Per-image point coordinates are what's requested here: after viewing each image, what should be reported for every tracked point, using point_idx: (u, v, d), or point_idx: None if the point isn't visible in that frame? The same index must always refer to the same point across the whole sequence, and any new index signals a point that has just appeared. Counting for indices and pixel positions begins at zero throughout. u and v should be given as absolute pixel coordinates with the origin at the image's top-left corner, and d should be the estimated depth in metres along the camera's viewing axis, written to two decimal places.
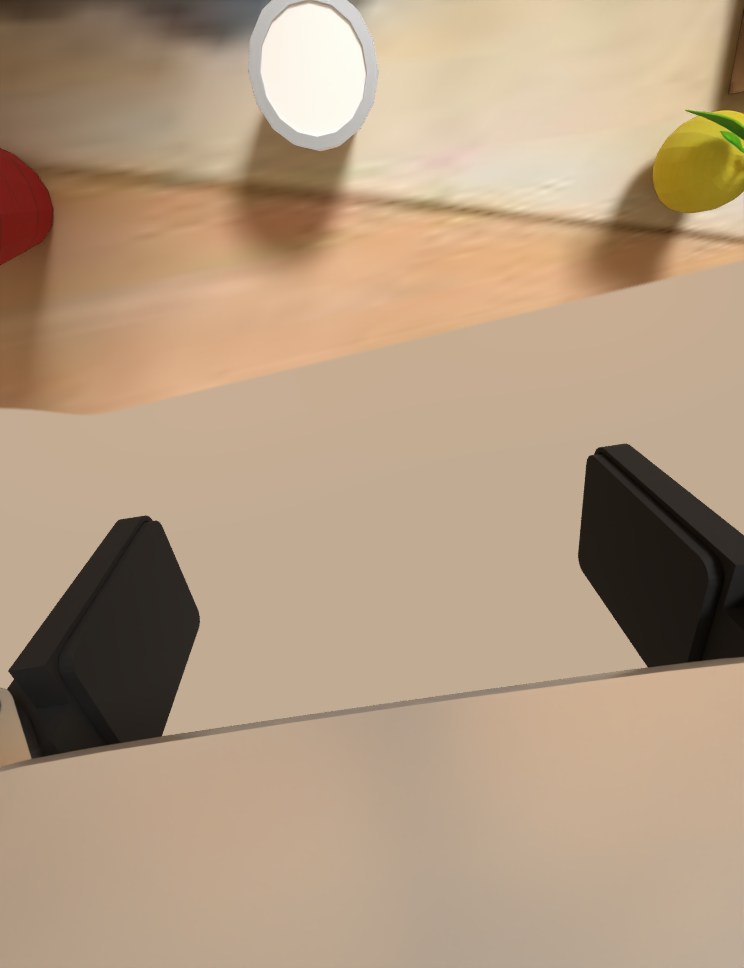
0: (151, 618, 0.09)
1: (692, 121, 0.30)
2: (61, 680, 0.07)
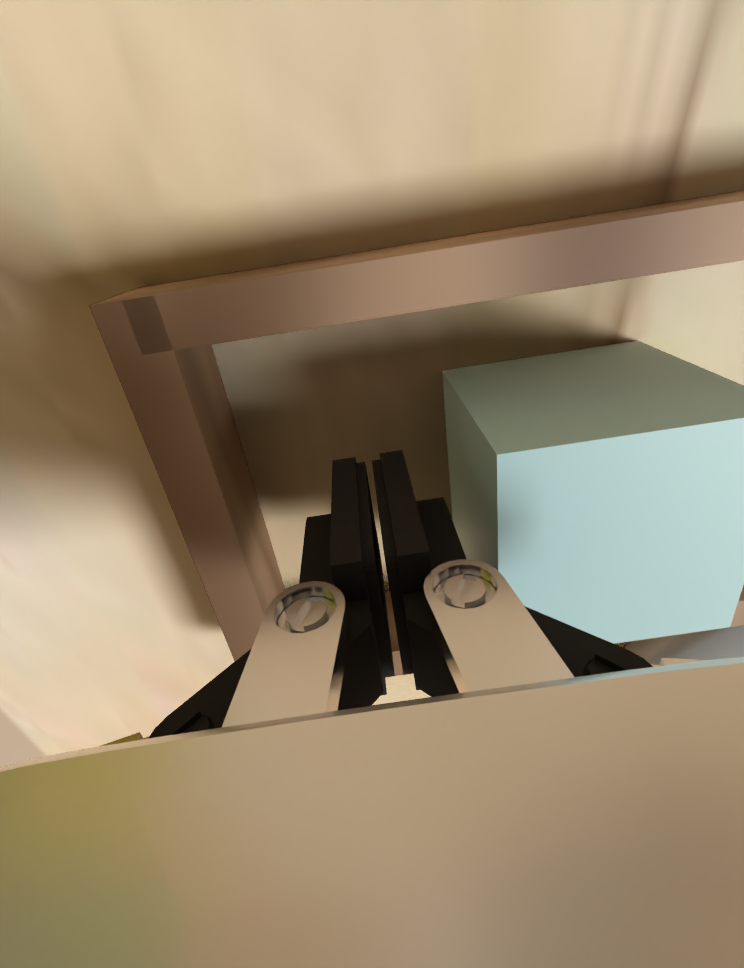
0: (376, 545, 0.10)
1: None
2: (365, 577, 0.08)
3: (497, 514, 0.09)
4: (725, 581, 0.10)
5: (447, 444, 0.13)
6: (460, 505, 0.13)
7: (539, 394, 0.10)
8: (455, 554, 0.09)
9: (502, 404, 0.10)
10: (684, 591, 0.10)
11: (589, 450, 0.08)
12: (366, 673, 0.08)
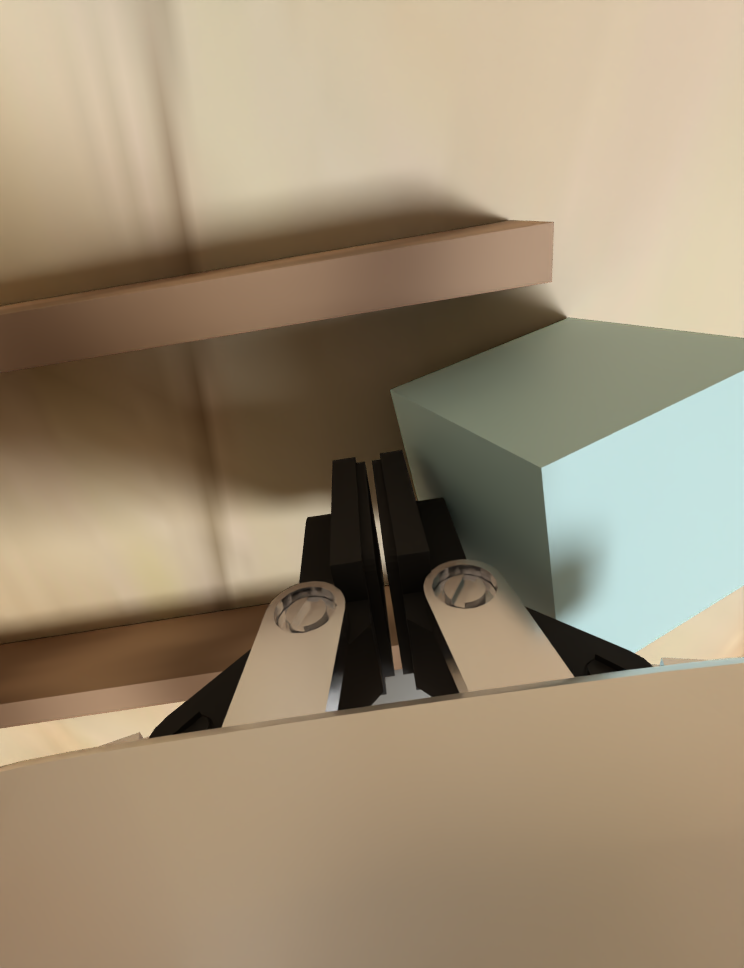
0: (376, 545, 0.10)
1: None
2: (365, 577, 0.08)
3: (546, 537, 0.07)
4: None
5: (411, 470, 0.12)
6: None
7: (523, 390, 0.09)
8: (455, 554, 0.09)
9: (492, 410, 0.08)
10: (718, 557, 0.09)
11: (630, 436, 0.07)
12: (366, 673, 0.08)
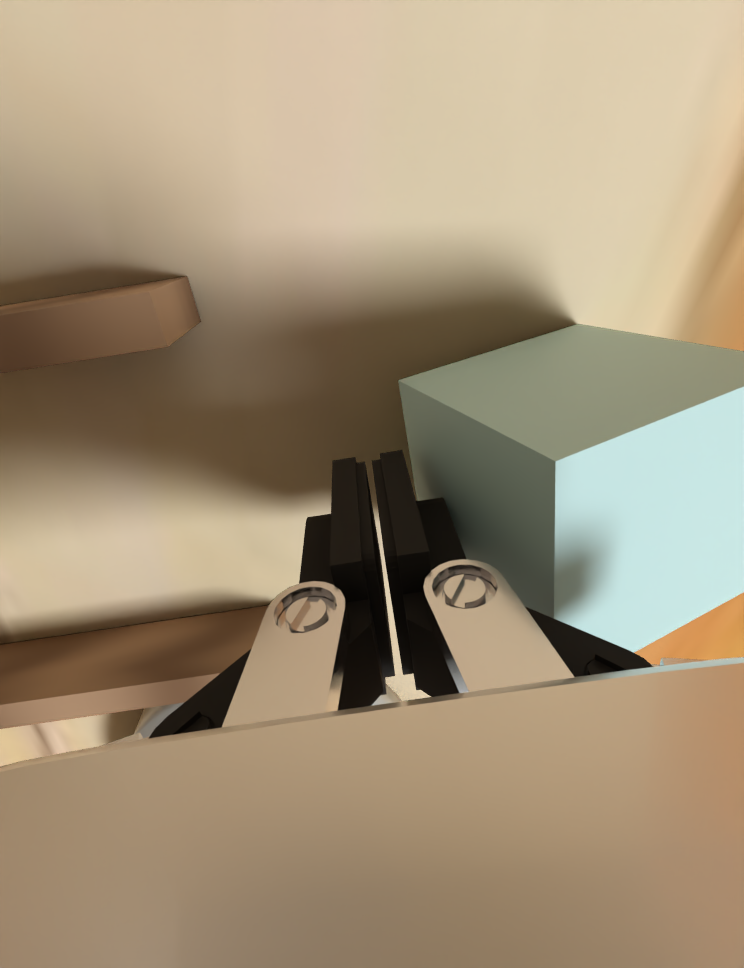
0: (376, 545, 0.10)
1: None
2: (365, 577, 0.08)
3: (553, 532, 0.07)
4: (743, 548, 0.09)
5: (412, 463, 0.12)
6: None
7: (534, 388, 0.09)
8: (455, 554, 0.09)
9: (504, 404, 0.08)
10: (712, 568, 0.09)
11: (642, 437, 0.07)
12: (366, 673, 0.08)
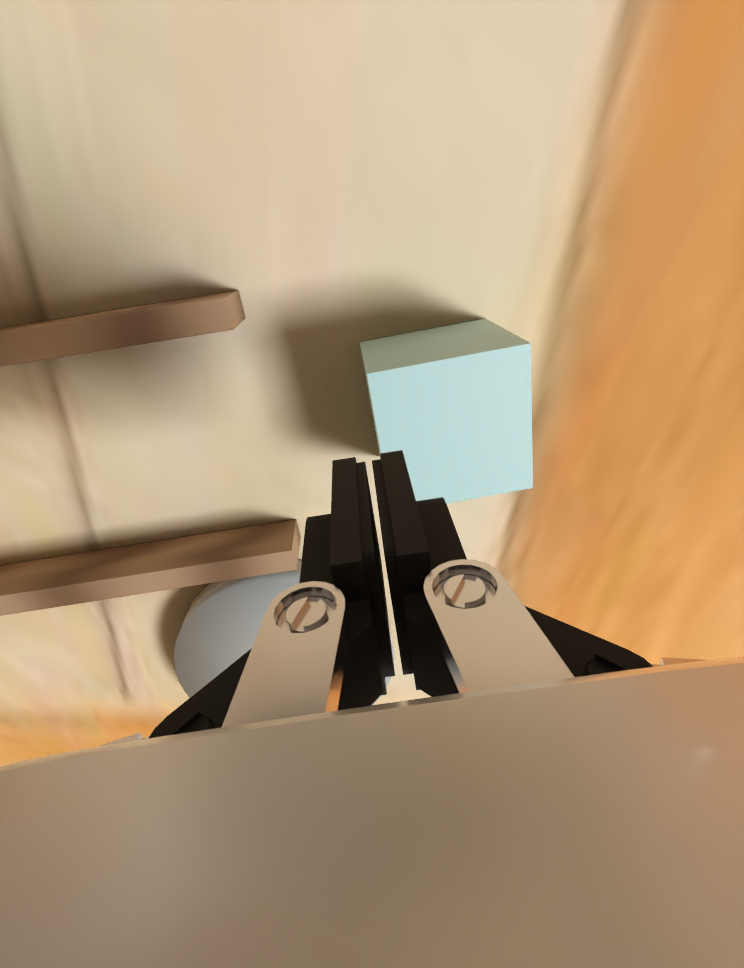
0: (376, 545, 0.10)
1: None
2: (365, 577, 0.08)
3: (373, 411, 0.15)
4: (520, 454, 0.16)
5: None
6: (375, 430, 0.19)
7: (407, 348, 0.17)
8: (455, 554, 0.09)
9: (383, 354, 0.16)
10: (496, 462, 0.16)
11: (418, 370, 0.15)
12: (366, 673, 0.08)
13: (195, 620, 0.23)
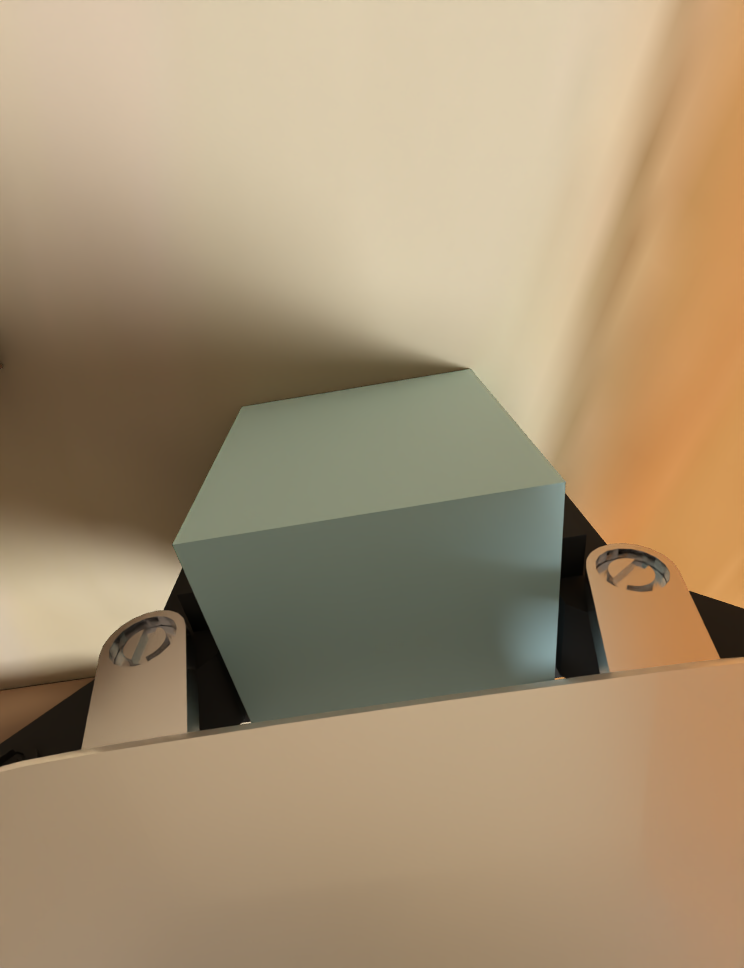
0: None
1: None
2: None
3: (203, 612, 0.07)
4: (529, 679, 0.08)
5: None
6: None
7: (304, 446, 0.08)
8: (592, 540, 0.08)
9: (253, 460, 0.08)
10: None
11: (296, 537, 0.06)
12: (217, 703, 0.08)
13: None
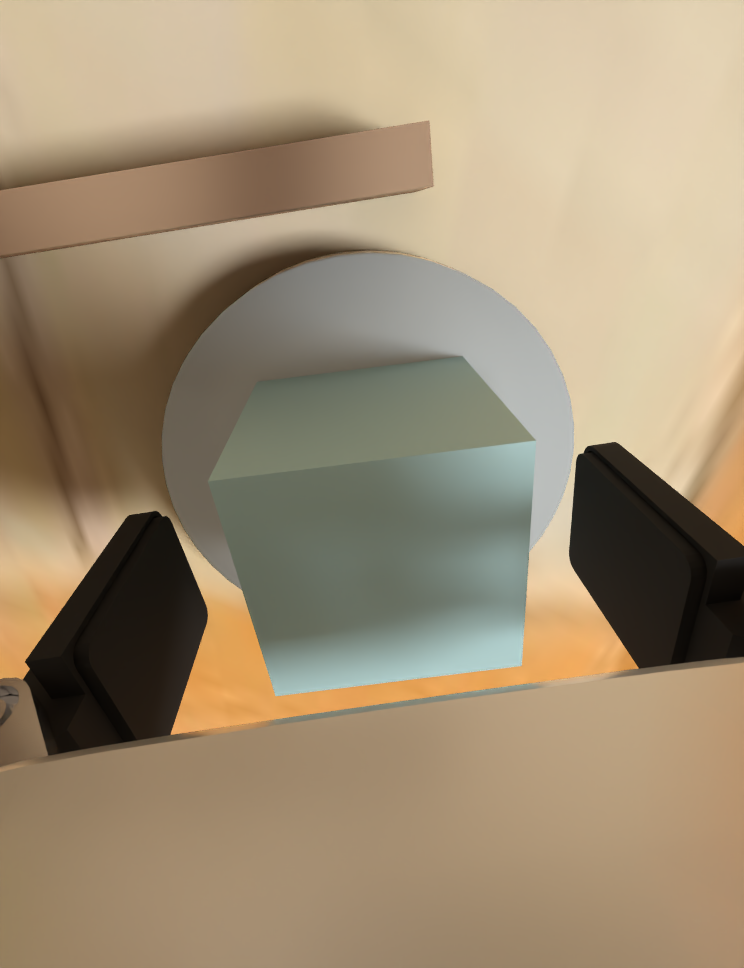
0: (161, 612, 0.09)
1: None
2: (76, 671, 0.07)
3: (228, 545, 0.08)
4: (503, 619, 0.09)
5: None
6: None
7: (316, 412, 0.09)
8: None
9: (271, 422, 0.09)
10: (460, 628, 0.09)
11: (311, 479, 0.07)
12: None
13: (203, 360, 0.11)
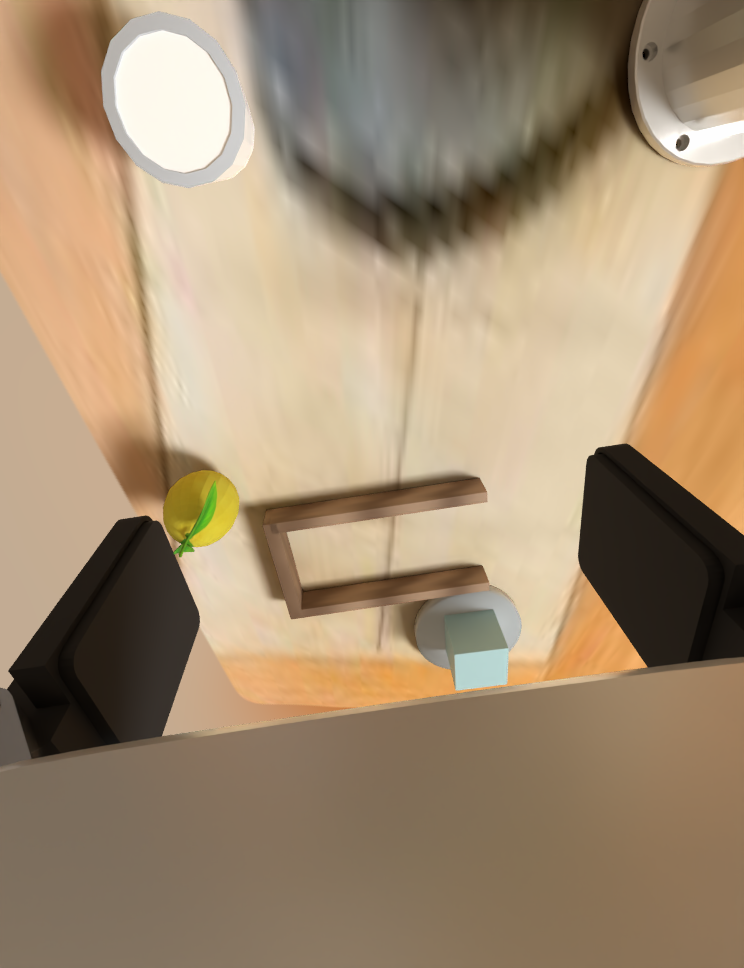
0: (151, 618, 0.09)
1: (227, 489, 0.37)
2: (61, 680, 0.07)
3: (454, 663, 0.45)
4: (503, 675, 0.46)
5: (445, 630, 0.50)
6: (448, 649, 0.49)
7: (465, 633, 0.46)
8: None
9: (457, 636, 0.46)
10: (494, 677, 0.46)
11: (471, 654, 0.44)
12: None
13: (432, 612, 0.48)
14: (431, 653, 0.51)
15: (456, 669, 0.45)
